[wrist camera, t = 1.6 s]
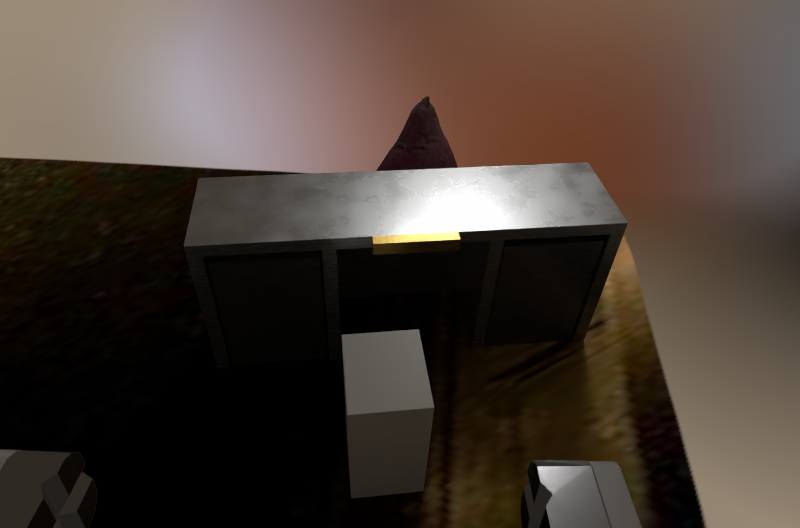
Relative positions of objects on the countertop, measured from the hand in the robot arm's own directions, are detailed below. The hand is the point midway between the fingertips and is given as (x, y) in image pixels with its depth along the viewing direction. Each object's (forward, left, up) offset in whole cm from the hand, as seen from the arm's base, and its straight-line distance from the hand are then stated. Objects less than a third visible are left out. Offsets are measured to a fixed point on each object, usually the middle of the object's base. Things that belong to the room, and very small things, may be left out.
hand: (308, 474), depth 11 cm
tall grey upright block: (+4, +16, -29) cm, 33 cm away
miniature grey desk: (+7, +30, -29) cm, 42 cm away
